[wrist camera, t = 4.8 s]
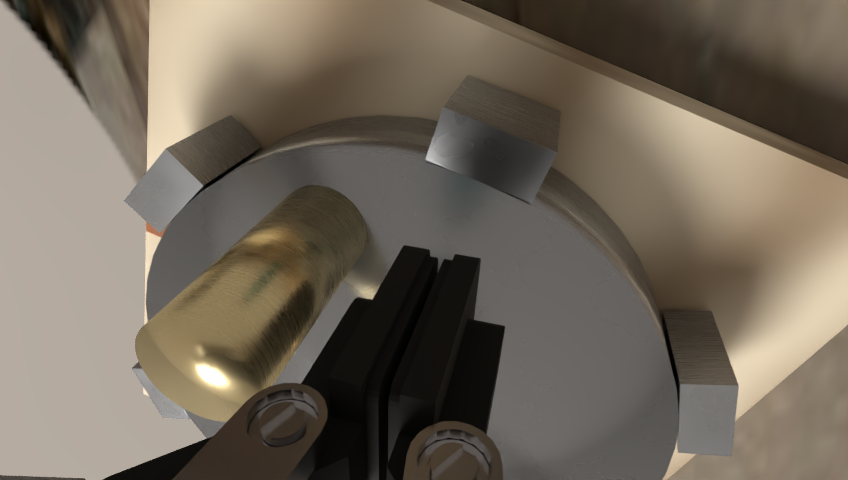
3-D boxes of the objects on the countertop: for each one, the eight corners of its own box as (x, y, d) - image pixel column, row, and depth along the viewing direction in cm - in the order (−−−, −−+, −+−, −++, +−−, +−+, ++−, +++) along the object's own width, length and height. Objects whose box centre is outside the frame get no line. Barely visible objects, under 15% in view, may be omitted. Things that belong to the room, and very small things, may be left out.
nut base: (915, 193, 14) (964, 230, 12) (550, 539, 26) (548, 582, 24) (199, -111, 15) (148, -118, 13) (170, 365, 27) (141, 395, 25)
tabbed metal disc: (697, 524, 20) (763, 842, 13) (270, 478, 26) (160, 675, 19) (729, 31, 11) (971, 178, 4) (87, 138, 18) (-226, 269, 11)
